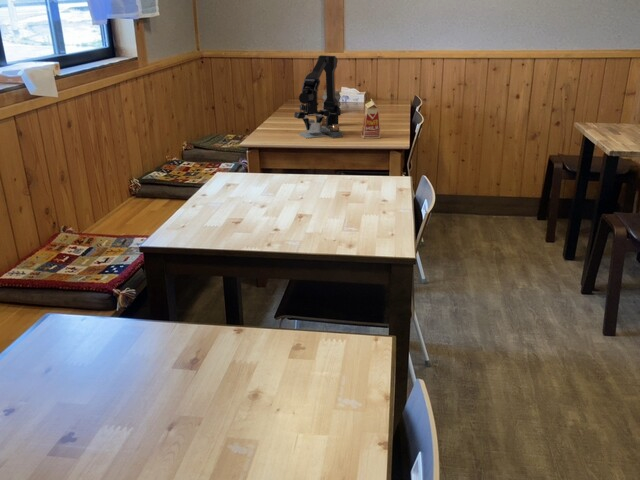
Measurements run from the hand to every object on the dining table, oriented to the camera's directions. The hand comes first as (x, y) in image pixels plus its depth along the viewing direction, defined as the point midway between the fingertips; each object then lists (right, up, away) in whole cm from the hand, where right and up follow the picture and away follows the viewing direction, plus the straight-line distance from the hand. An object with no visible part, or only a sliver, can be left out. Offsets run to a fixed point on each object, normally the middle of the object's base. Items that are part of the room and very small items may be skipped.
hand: (312, 129), depth 314 cm
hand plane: (+9, -1, +5) cm, 10 cm away
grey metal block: (0, -1, 0) cm, 1 cm away
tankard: (+12, +24, +65) cm, 71 cm away
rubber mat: (0, -3, +1) cm, 3 cm away
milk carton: (+32, -5, -3) cm, 32 cm away
